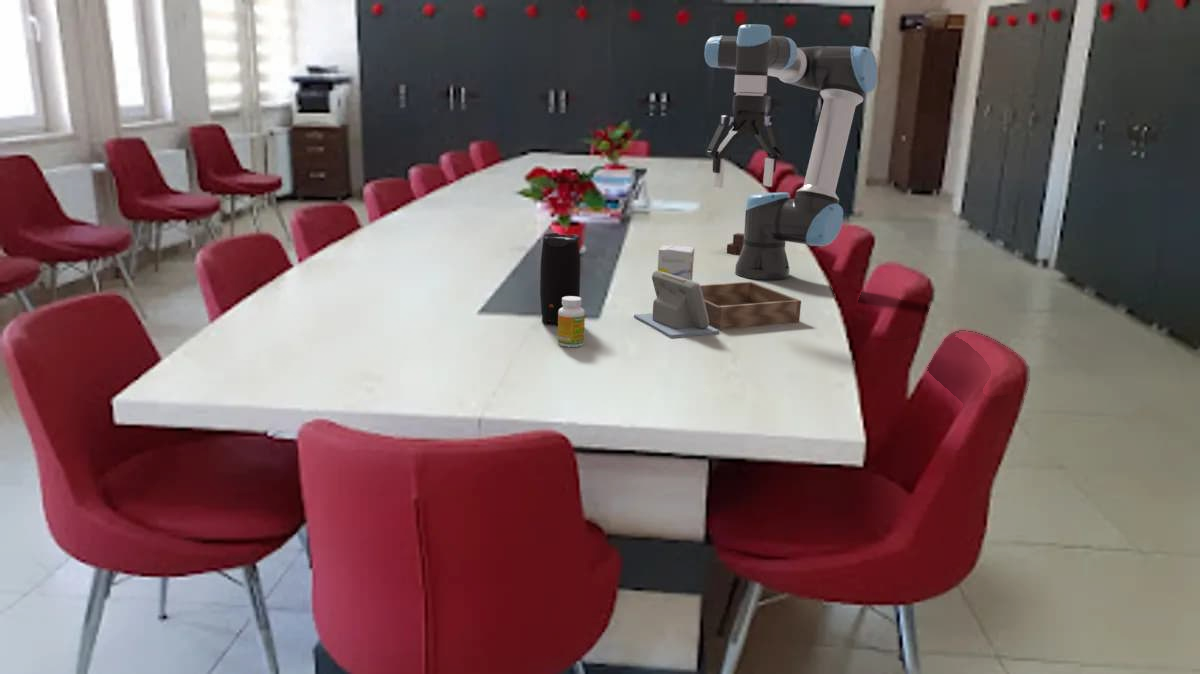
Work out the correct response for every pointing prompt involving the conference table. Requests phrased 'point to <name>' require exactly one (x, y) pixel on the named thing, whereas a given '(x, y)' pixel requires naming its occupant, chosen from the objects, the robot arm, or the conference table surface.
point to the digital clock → (678, 302)
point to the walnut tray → (748, 305)
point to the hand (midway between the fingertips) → (743, 186)
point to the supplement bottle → (571, 322)
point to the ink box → (676, 260)
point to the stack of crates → (736, 244)
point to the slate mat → (673, 331)
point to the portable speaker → (558, 273)
